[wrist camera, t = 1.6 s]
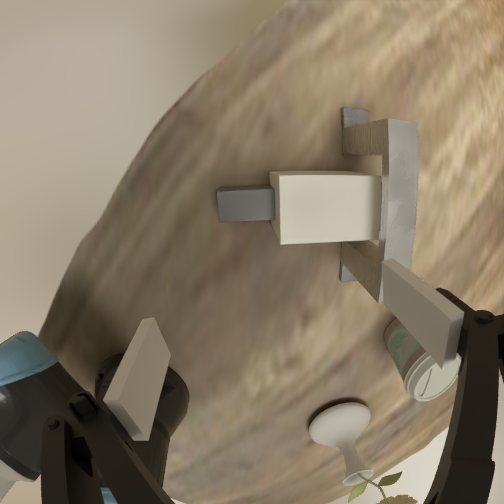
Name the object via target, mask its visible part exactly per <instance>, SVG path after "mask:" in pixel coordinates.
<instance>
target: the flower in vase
mask: <svg viewBox="0 0 504 504" xmlns="http://www.w3.org/2000/svg"><path fill="white" fill-rule="evenodd" d="M370 415H371V413H370V410H369V408H368V407H367V406H365V405H363V404H360V403H355V402H349V403H342V404H338V405H335V406H333V407H330V408H328V409H326V410H325V411H323V412H321V413H320V414H319V415H318V416H317V417H315V419H314V420H313V421H312V423H311V425H310V427H309V435H310V437H311V438H312V439H313V440H314V441H315V442H317V443H319V444H322V445H326V446H333V447H338V448H340V449H341V451H342V452H343V455H344V458H345V463H346V475H345V478H344V480H343V484H344V485H355V484H359V483H361V482H364V481H367V482H369V483H371V484H373V485H375V486H376V487H378V488H379V489H380V491H381V492H382V495H383V497H384V499H383V500H381V501H380V503H377V504H416V503H417V500H415V499H413V498H412V497H408V495H397V496H396V497H395V498H394V497H389V498H386V497H385V494H384V492H383V490H382V488H381V487H380V486H387V485H392V484H394V483H395V482H396V481H397V480H398V479H399V478H400V476H401V474H402V472H400V473H396V474H393V475H389V476H385V477H383V478H382V479H381V480H380V482H379V484H378V485H377V484H375V483H373V482H372V481H370V480H368V479H369V478H370V477H371V476H373V474H374V471H373V470H371V469H369V468H368V467H366V466H365V465H364V464H363V462H362V461H361V459H360V457H359V455H358V453H357V450H356V447H355V442H356V440H357V439H358V437H359V436H360V435H361V434H362V433H363V432H364V431H365V429H366V428H367V426H368V424H369V422H370ZM367 482H364V483H362V484H360V485H358V486H357V487H355V488H354V489H353V491H352V492H351V494H350V496H349V500H348V502H350V501H351V500H352V499H354V498H356V497H357V496H359V495H361V494H362V493H363V492H364V490H365V488H366V486H367Z"/></svg>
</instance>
